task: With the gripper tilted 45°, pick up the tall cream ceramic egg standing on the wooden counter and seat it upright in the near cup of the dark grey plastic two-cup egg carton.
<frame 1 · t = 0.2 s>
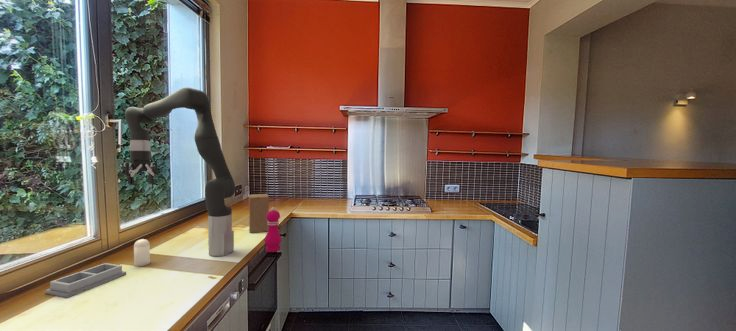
hand: (141, 184, 133), 29 cm above the worktop, tool pointing down, fingers open, 8 cm apart
pepper mill: (273, 250, 130), on the worktop
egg: (142, 263, 111), on the worktop
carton: (88, 283, 95), on the worktop
wooden block: (258, 230, 160), on the worktop
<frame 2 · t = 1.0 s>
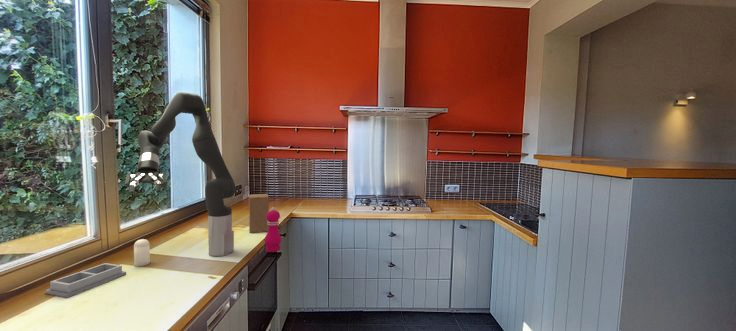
hand: (145, 193, 120), 27 cm above the worktop, tool tilted 45°, fingers open, 8 cm apart
nothing on the worktop moved.
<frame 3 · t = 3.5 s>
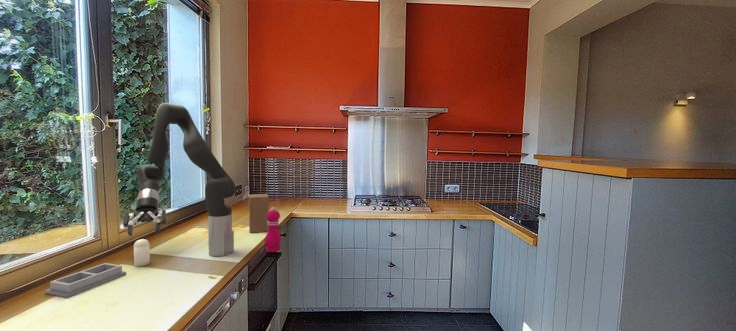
hand: (144, 233, 116), 11 cm above the worktop, tool tilted 45°, fingers open, 8 cm apart
nothing on the worktop moved.
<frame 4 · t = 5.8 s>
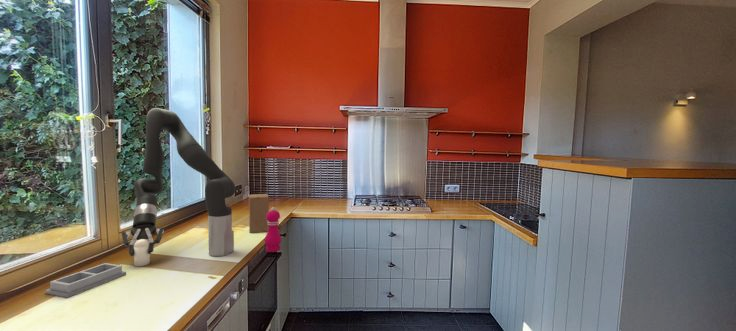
hand: (141, 253, 109), 5 cm above the worktop, tool tilted 45°, fingers closed on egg, 4 cm apart
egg: (142, 263, 111), on the worktop, touching gripper
everything else where it was.
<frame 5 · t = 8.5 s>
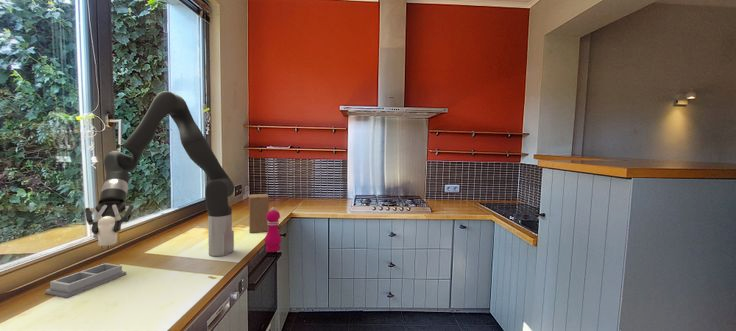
hand: (105, 232, 99), 16 cm above the worktop, tool tilted 45°, fingers closed on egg, 4 cm apart
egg: (107, 243, 101), point 12 cm above the worktop, touching gripper
everything else where it was.
when the fingers open (7 cm above the worktop, at t = 11.4 s): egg drops 1 cm, resting on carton.
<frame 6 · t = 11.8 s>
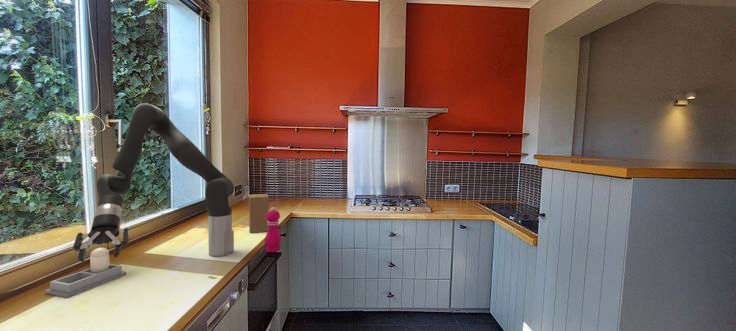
hand: (99, 258, 97), 8 cm above the worktop, tool tilted 45°, fingers open, 8 cm apart
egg: (100, 275, 98), point 1 cm above the worktop, touching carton
everything else where it was.
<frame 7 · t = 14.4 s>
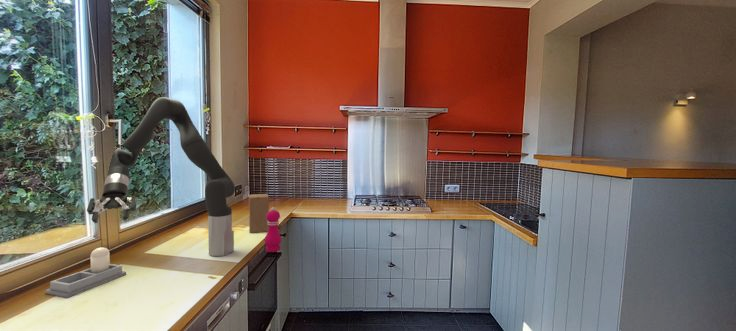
hand: (110, 220, 108), 18 cm above the worktop, tool tilted 45°, fingers open, 8 cm apart
nothing on the worktop moved.
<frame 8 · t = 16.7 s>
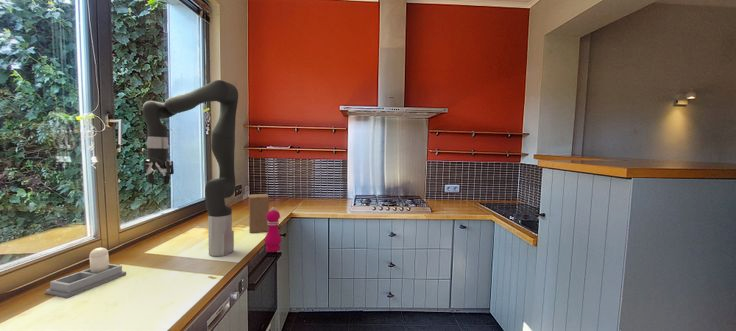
hand: (158, 183, 125), 30 cm above the worktop, tool pointing down, fingers open, 8 cm apart
nothing on the worktop moved.
at the end: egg 0.2 cm from the target spot on the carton, point 1.1 cm above the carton's base; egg tilted 2°; the gripper is holding nothing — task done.
